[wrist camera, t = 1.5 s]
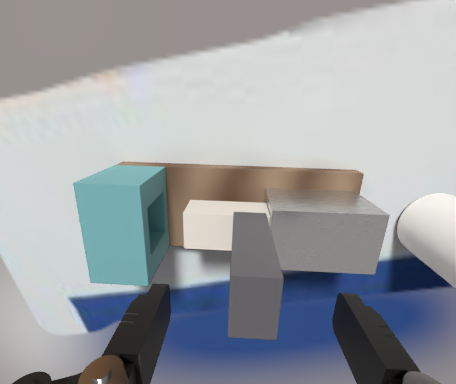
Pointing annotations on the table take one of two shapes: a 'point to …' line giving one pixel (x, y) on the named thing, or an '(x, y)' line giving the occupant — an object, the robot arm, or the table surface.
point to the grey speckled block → (325, 230)
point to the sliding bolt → (241, 261)
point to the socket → (124, 223)
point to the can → (432, 233)
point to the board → (240, 185)
